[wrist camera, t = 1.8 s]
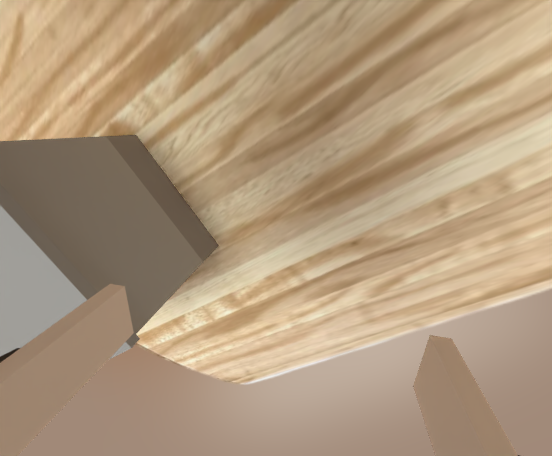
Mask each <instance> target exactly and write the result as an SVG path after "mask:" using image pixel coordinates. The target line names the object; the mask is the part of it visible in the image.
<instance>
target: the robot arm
mask: <svg viewBox="0 0 552 456" xmlns="http://www.w3.org/2000/svg"><path fill="white" fill-rule="evenodd" d="M133 333H134V332H133V327H132V321H131V316H130V311H129V306H128V301H127V296H126V290H125V286H121V285H115V284H109V285H108V286H106V287H105V288H103V289H102V290H101V291H99V292H98V293H96V294H95V295H94V296H92V297H91V298H90V299H88V300H87V301H85V302H84V303H83V304H81V305H80V306H78V307H77V308H76V309H74V310H73V311H71V312H70V313H69V314H67V315H66V316H65V317H63V318H62V319H60V320H59V321H58V322H56V323H55V324H53V325H52V326H51V327H49V328H48V329H46V330H45V331H44V332H42V333H41V334H40V335H38V336H37V337H35V338H34V339H33V340H31V341H30V342H28V343H27V344H26V345H24V346H23V347H22V348H16V349H14V350H12V351H10V352H8V353H6V354H4V355H2V356H0V456H18V455H19V454H20V453H21V452H22V451H23V450H24V449H25V448H26V446H27V445H28V444H29V443H30V442H31V441H32V440H33V439H34V438H35V437H36V436H37V435H38V434H39V433H40V432H41V431H42V430H43V428H44V427H45V426H46V425H47V424H48V423H49V422H50V421H51V420H52V419H53V418H54V417H55V416H56V415H57V414H58V413H59V412H60V411H61V409H62V408H63V407H64V406H65V405H66V404H67V403H68V402H69V401H70V400H71V399H72V398H73V397H74V396H75V395H76V394H77V392H78V391H79V390H80V389H81V388H82V387H83V386H84V385H85V384H86V383H87V382H88V381H89V380H90V379H91V378H92V377H93V376H94V374H95V373H96V372H97V371H98V370H99V369H100V368H101V367H102V366H103V365H104V364H105V363H106V362H107V361H108V360H109V359H110V358H111V357H112V355H113V354H114V353H115V352H116V351H117V350H118V349H119V348H120V347H121V346H122V345H123V344H124V343H125V342H126V341H127V340H128V339H129V337H130V336H131V335H132V334H133ZM413 387H414V390H415V393H416V396H417V400H418V403H419V406H420V409H421V412H422V415H423V419H424V422H425V425H426V428H427V432H428V434H429V438H430V441H431V444H432V447H433V450H434V454H435V456H519V455H517V454H516V451H515V450H514V448H513V446H512V445H511V443H510V441H509V439H508V437H507V436H506V434H505V432H504V430H503V428H502V427H501V425H500V423H499V421H498V420H497V418H496V416H495V414H494V413H493V411H492V409H491V408H490V406H489V404H488V403H487V400H486V398H485V397H484V395H483V393H482V391H481V390H480V388H479V386H478V384H477V383H476V381H475V379H474V377H473V376H472V374H471V372H470V370H469V369H468V367H467V365H466V363H465V361H464V360H463V358H462V356H461V354H460V353H459V351H458V349H457V347H456V346H455V344H454V342H453V340H452V339H450V338H444V337H438V336H432V335H430V337H429V340H428V343H427V346H426V349H425V352H424V355H423V358H422V361H421V364H420V367H419V370H418V373H417V376H416V379H415V382H414V385H413Z"/></svg>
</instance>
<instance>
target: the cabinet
mask: <svg viewBox="0 0 552 456" xmlns="http://www.w3.org/2000/svg"><path fill="white" fill-rule="evenodd" d="M217 247H218V244H217V243H216V242H215V240H214V239H213V238H212V236H211V235H210V234H209V232H208V231H207V230H206V228H205V227H204V226H203V224H202V223H201V222H200V220H199V219H198V217H197V216H196V215H195V213H194V212H193V211H192V209H191V208H190V207H189V205H188V204H187V203H186V201H185V200H184V199H183V197H182V196H181V195H180V193H179V192H178V191H177V189H176V188H175V187H174V185H173V184H172V183H171V181H170V180H169V179H168V177H167V176H166V175H165V173H164V172H163V171H162V169H161V168H160V167H159V165H158V164H157V163H156V161H155V160H154V159H153V157H152V156H151V155H150V153H149V152H148V151H147V149H146V148H145V147H144V145H143V144H142V143H141V141H140V140H139V139H138V137H137V136H136V135H126V136H105V137H84V138H63V139H42V140H21V141H0V356H2V355H4V354H6V353H8V352H10V351H12V350H14V349H16V348H22V347H23V346H24V345H26V344H27V343H28V342H30V341H31V340H33V339H34V338H35V337H37V336H38V335H40V334H41V333H42V332H44V331H45V330H46V329H48V328H49V327H51V326H52V325H53V324H55V323H56V322H58V321H59V320H60V319H62V318H63V317H65V316H66V315H67V314H69V313H70V312H71V311H73V310H74V309H76V308H77V307H78V306H80V305H81V304H83V303H84V302H85V301H87V300H88V299H90V298H91V297H92V296H94V295H95V294H96V293H98V292H99V291H101V290H102V289H103V288H105V287H106V286H108V285H109V284H115V285H121V286H125V290H126V296H127V301H128V306H129V311H130V316H131V321H132V327H133V332H134V333H133V334H132V335H131V336H130V337H129V339H128V340H127V341H126V342H125V343H124V344H123V345H122V346H121V347H120V348H119V349H118V350H117V351H116V352H115V353H114V354H113V355H112V357H114V356H116V355H119V354H120V353H123V352H125V351H127V350H129V349H130V348H132V347H133V345H135V343H136V342H137V341H138V340H139V339H140V338H139V337H138V336H137V335H136V333H137V332H138V331H139V330H140V329H141V328H142V327H143V326H144V325H145V324H146V323H147V322H148V320H149V319H150V318H151V317H152V316H153V315H154V314H155V313H156V312H157V311H158V310H159V309H160V308H161V307H162V305H163V304H164V303H165V302H166V301H167V300H168V299H169V298H170V297H171V296H172V295H173V294H174V293H175V292H176V290H177V289H178V288H179V287H180V286H181V285H182V284H183V283H184V282H185V281H186V280H187V279H188V278H189V277H190V275H191V274H192V273H193V272H194V271H195V270H196V269H197V268H198V267H199V266H200V265H201V264H202V263H203V262H204V260H205V259H206V258H207V257H208V256H209V255H210V254H211V253H212V252H213V251H214V250H215V249H216V248H217ZM112 357H111V358H112ZM111 358H110V359H111Z"/></svg>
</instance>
